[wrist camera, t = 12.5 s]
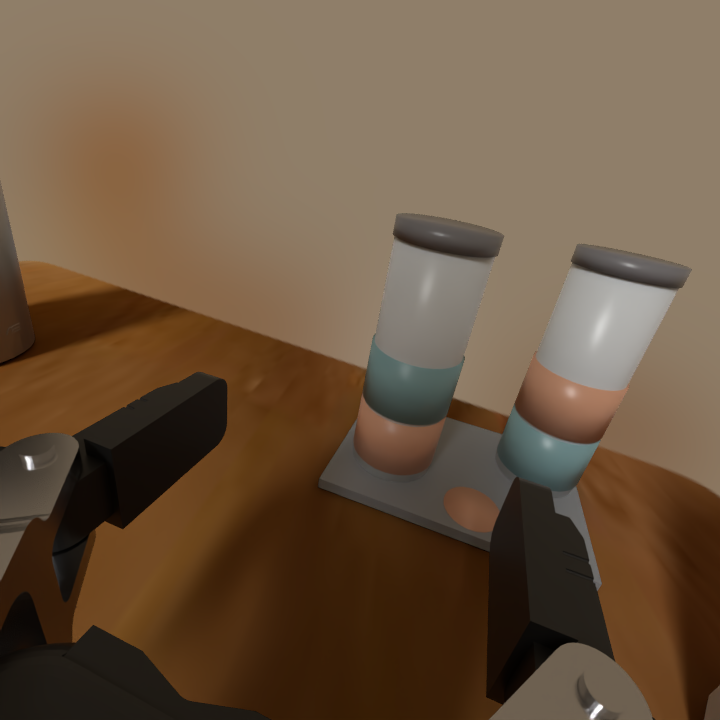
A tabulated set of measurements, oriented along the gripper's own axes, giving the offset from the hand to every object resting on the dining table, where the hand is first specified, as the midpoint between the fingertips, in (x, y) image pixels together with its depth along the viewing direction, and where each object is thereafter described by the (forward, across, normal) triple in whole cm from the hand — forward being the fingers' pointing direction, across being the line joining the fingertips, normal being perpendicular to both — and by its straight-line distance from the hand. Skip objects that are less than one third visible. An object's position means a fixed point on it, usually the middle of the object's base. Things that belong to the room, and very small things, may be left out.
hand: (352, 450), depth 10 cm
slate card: (+12, -4, +9) cm, 15 cm away
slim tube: (+11, 0, +8) cm, 14 cm away
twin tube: (+14, -8, +8) cm, 18 cm away
